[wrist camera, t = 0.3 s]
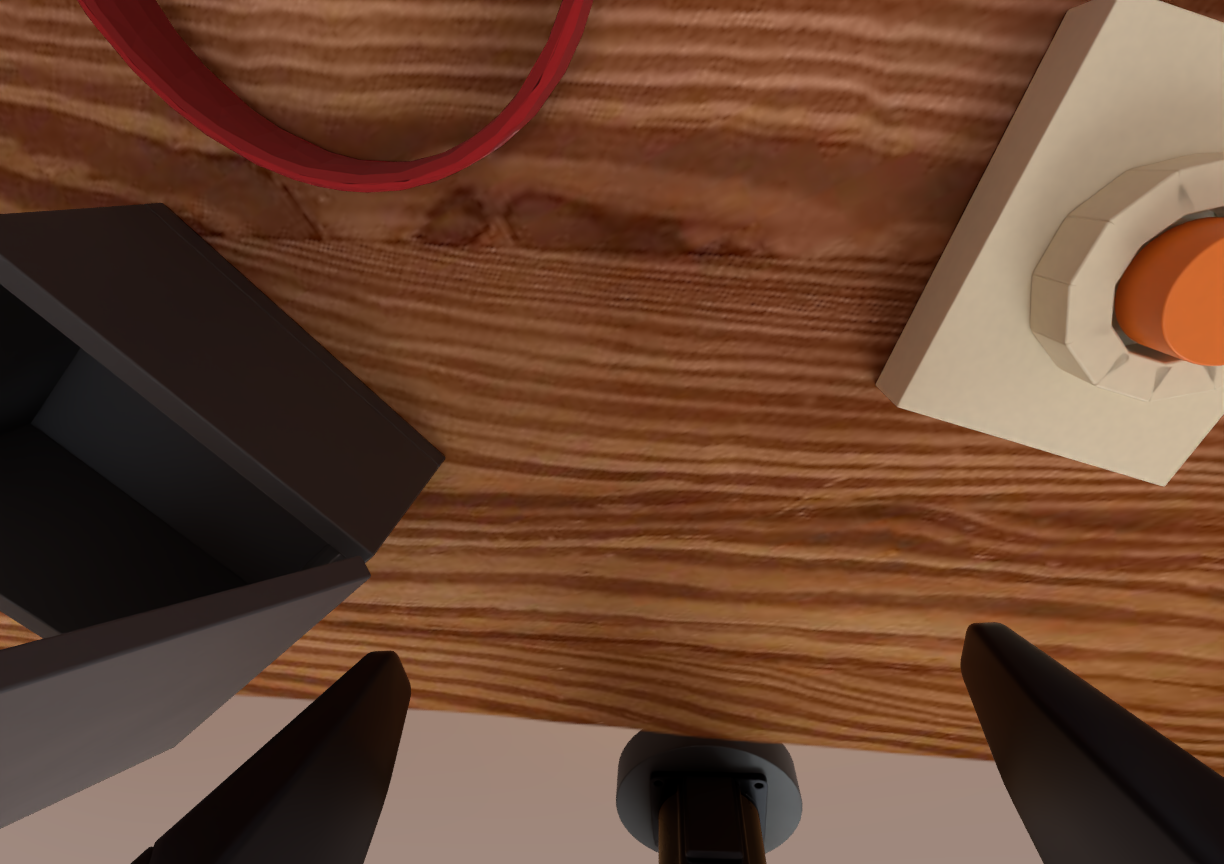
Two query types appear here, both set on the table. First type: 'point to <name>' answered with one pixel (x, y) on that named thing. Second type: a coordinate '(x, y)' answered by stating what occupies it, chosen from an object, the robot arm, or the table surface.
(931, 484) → the table surface
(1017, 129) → the control block
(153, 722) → the box lid
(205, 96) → the headphones
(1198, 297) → the button
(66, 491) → the open hinged box
